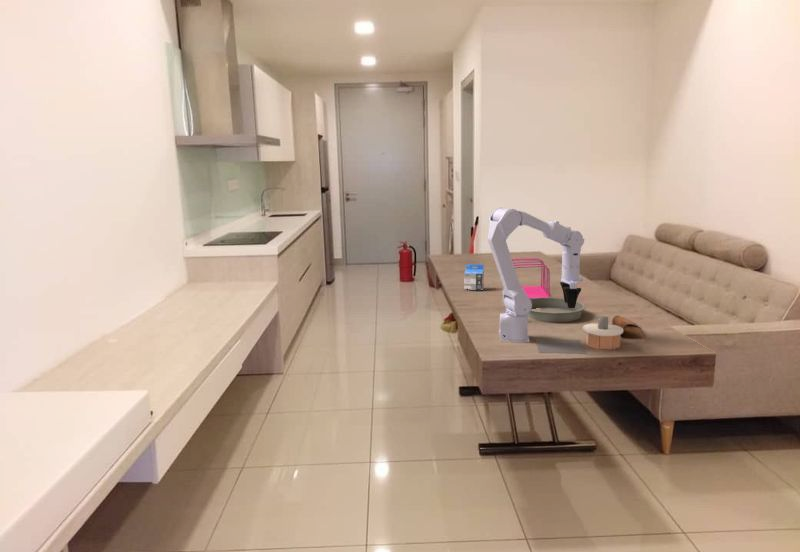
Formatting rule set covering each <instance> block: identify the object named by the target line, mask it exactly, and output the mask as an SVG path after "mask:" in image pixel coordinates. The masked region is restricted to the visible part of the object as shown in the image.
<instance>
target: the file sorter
mask: <svg viewBox="0 0 800 552" xmlns="http://www.w3.org/2000/svg"><path fill="white" fill-rule="evenodd" d="M514 261H515V262H514ZM512 262H513V265H514V268H515V270H516V269H523V268H540V270H541V271H540V285H520V286H521V287H522V288H523V289H524V291H525V292H526V295H527V297H528V298H529V299H532V298H543V297H551V295H550V291H551V290H550V283H551V281H550V279H551V278H550V277H551V276H550V274H551V273H550V269H549V268H548V266H547V265H546V264H545V262H544V261H543V260H542V259H540V258H537V257H533V258H531V257H530V258H529V257H526V258H523V257H522V258H521V257H520V258H519V257H518V258H516V257H515V258H514V257H513V258H512Z"/></svg>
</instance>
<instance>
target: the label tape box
mask: <svg viewBox="0 0 800 552" xmlns="http://www.w3.org/2000/svg"><path fill="white" fill-rule="evenodd" d="M484 272H485V269H484V264H480V263H479V264H477V263H475V264H474V263H465V271H464V274H463V277H464V279H463V281H464V282H463V284H464V285H463V288H464V289H470V290H483V289H484V290H485V287H484V286H485V284H484V283H485V277H484V276H485V275H484ZM464 289H463V290H464ZM484 290H483V291H484Z"/></svg>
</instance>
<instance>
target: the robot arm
mask: <svg viewBox="0 0 800 552" xmlns="http://www.w3.org/2000/svg"><path fill="white" fill-rule="evenodd" d="M488 221H489V227H488V232H487V233H488V234H487V241H488V245H489V247H490V250H491V254H492V257H493V260H494V263H495V266H496V268H497V272H498V275H499V277H500V281H501V283H502V287H503V289H502V291H501V294H502V305H503V307H504V308H505V312H504V313H499V329H498V335H499V341H500V340H505V341H514V343H515V342H516V343H530V342H531V341H530V336H529V318H528V313H529V312H530V310H531V308H532V302H531V300H530V299H529V298H528V297H527V295H526V292H525V291H524V289H523V288H522V287H521V286H522V285H521V284H520V280H519V277H518V276H517V275H518V274H517V271H516V269H515V266H514V265H515V264H513V262H514V261H512V259H513V258H512V255H511V253H510V250H509V247H508V243H507V239H508V238H509V236H510V235H511V234H512V233H513V232H514V231H515V230H516V229H517V228H518V227H519V226H520V227H523V226H527V227H529V228H532V229H534V230H537V231H540V232H541V233H542V235H543V237H544V238H546V239H549V240H551V241H554V242H556V243H558V244H559V245H560V246H561V247H562V249H561V250H562V251H561V254H562V255H561V278H560V282H559V284H560V286H561V289H562V293H563V298H564V300H565V303H567V305H568V308H575V306H576V301H578V297H579V294H580V293H581V292H582V288H581V287H578V286H577V285H578V283H580V282H583V281H584V279H583V277H580V266H581V264H580V263H581V261H580V260H581V250H582V246H583V245H584V243H585V238H584V236H583V234H582V233H581V232H580V231H578V230H575V229H574V230H573V229H571V226H564V225H562V224H560V221H558V220H554V221H553V220H550V221H548V222H546V221H544V220H542V219H540V218H537V216H536V217H535V216H533V215H532V214H530V213H527V212H526V211H521V210H517V209H515V208H505V207H497V208H495V209H494V210H493V211H492V212H491V214H490V216H489V217H488ZM503 336H504V337H503Z"/></svg>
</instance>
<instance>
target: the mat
mask: <svg viewBox="0 0 800 552" xmlns="http://www.w3.org/2000/svg"><path fill="white" fill-rule="evenodd" d="M534 339H535V338H534ZM535 343H536V347H537V351H538V353H539V354H574V355H575V354H576V355H578V354H579V355H581V354H585V355H587V352H586V349H585V348H584V346H583V344H582V342H581V341H580V339H557V338H556V339H551V338H550V339H545V338H544V339H541V338H536V339H535Z"/></svg>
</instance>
